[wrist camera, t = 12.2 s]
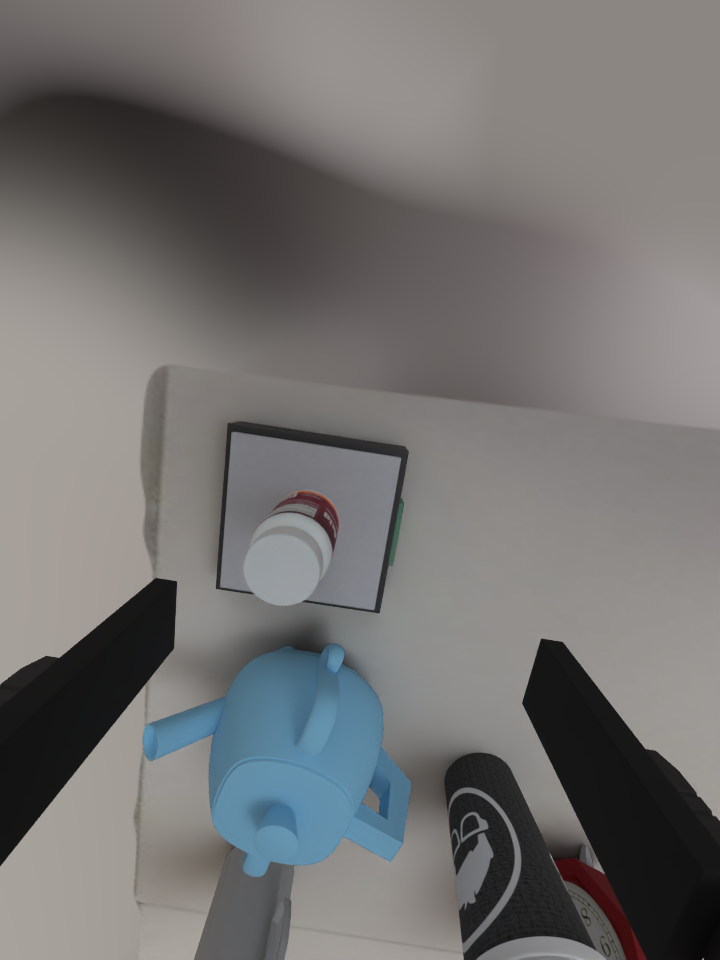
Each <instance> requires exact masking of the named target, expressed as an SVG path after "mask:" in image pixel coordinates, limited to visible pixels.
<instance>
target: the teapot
mask: <svg viewBox="0 0 720 960" xmlns="http://www.w3.org/2000/svg"><path fill="white" fill-rule="evenodd" d="M344 656H345V651H344V649H343V648H342V647H341V646H340V645H338V644H334V643H332V644H329V645H327V646H326V647H325V648H324V650H323V652H322V654H318V653H313V652H308V651H301V650H296V649H295V648H293V647H288V646H286V647H282V648H280V649H279V650H278V651H273V652H269V653H266V654H264V655H261V656H259V657H257V658H255V659H253V660H252V661H250V662H249V663H248V664H247V665H246V666H245V667H244V668H243V669H242V670H241V671H240V672H239V674H238V675H237V677H236V678H235V680H234V681H233V683H232V685H231V686H230V688H229V690H228V692H227V695H226V697H223V698H220V699H218V700H215V701H212V702H209V703H206V704H203V705H201V706H198V707H195V708H192V709H189V710H186V711H183V712H181V713H178V714H175V715H172V716H169V717H166V718H164V719H161V720H158V721H155V722H152V723H149V724H147V725H146V726H145V728H144V732H143V749H144V753H145V755H146V757H147V759H148V760H149V761H153V760H155V759H158V758H160V757H162V756H164V755H167V754H169V753H171V752H173V751H176V750H178V749H180V748H182V747H185V746H187V745H189V744H192V743H194V742H196V741H198V740H201V739H203V738H205V737H207V736H210V735H212V734H214V735H213V740H212V745H211V754H210V762H209V797H210V808H211V815H212V822H213V824H214V827H215V828H216V830H217V831H218V832H219V834H220V835H221V836H222V837H223V838H224V839H225V840H227V841H228V842H229V843H230V844H232V845H234V846H235V847H237V848H239V849H241V850H242V851H244V852H245V855H244V859H243V863H242V869H243V871H244V872H245V873H246V874H248V875H250V876H253V877H260V876H262V875H264V874H265V872H266V870H267V868H268V866H269V863H270V861H272V862H276V863H282V864H288V865H310V864H314V863H318V862H320V861H322V860H324V859H325V858H326V857H328V856H329V855H330V854H331V853H332V852H333V851H334V850H335V848H336V847H337V846H338V844H339V843H340V841H341V839H342V838H343V836H344V837H345V838H347V839H349V840H351V841H353V842H355V843H357V844H358V845H360V846H362V847H364V848H366V849H368V850H369V851H371V852H373V853H375V854H377V855H379V856H380V857H382V858H384V859H386V860H388V861H390V862H391V861H392V859H393V858H394V856H395V855H396V853H397V852H398V850H399V849H400V847H401V846H402V844H403V839H404V832H405V825H406V818H407V811H408V804H409V797H410V790H411V782H410V781H409V780H408V778H407V777H406V776H405V775H404V774H403V773H402V771H401V770H400V769H399V768H398V767H397V765H396V764H395V763H394V762H393V761H392V759H391V758H390V757H389V756H388V755H387V753H386V752H385V751H384V750H383V749H382V747H381V743H382V737H383V710H382V706H381V703H380V701H379V698H378V696H377V694H376V693H375V692H374V690H373V689H372V687H371V686H370V685H369V684H368V683H367V682H366V681H365V680H364V679H363V678H362V677H360V676H359V674H358V673H357V672H356V671H355V670H352V669H350V668H348V667H346V666H345V665H343V664H342V662H343V659H344ZM369 787H370V788H371V789H372V790H373V792H374V793H375V794H376V795H377V797H378V798H379V799H380V807H379V814H378V813H376V812H375V811H373V810H372V809H370V808H369V807H367V806H366V805H364V804H363V803H362V801H363V799H364V797H365V795H366V792H367V790H368V788H369Z"/></svg>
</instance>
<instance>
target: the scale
mask: <svg viewBox="0 0 720 960" xmlns="http://www.w3.org/2000/svg"><path fill="white" fill-rule="evenodd" d="M408 453H409V451H408V450H407V449H406V447H403V446H396V445H390V444H383V443H377V442H370V441H364V440H357V439H351V438H344V437H338V436H331V435H325V434H318V433H312V432H305V431H299V430H292V429H286V428H279V427H273V426H266V425H260V424H253V423H247V422H234V423H229V424H228V428H227V442H226V456H225V469H224V483H223V497H222V510H221V524H220V538H219V552H218V565H217V579H216V589H221V590H227V591H234V592H241V593H247V594H254V593H253V592H252V591H251V590H250V588H249V587H248V585H247V583H246V581H245V578H244V574H243V562H244V558H245V556H246V553H247V551H248V549H249V548H250V542H251V538H252V535H253V533H254V531H255V529H256V528H257V527H258V526H259V524H260V523H261V522H262V521H263V520H264V519H265V518H266V517H267V516H268V515H269V513H271V511H272V510H273V509H274V508H275V507H276V506H277V505H278V504H279V503H280V501H281V500H282V499H283V498H284V497H286V496H287V495H289V494H290V493H293V492H295V491H299V490H312V491H316V492H319V493H321V494H323V495H325V496H326V497H327V498H329V499H330V500H331V501H332V503H333V504H334V505H335V507H336V509H337V512H338V515H339V530H338V534H337V539H336V544H335V548H334V552H333V557H332V561H331V564H330V566H329V569H328V571H327V572H326V574H325V575H324V577H323V578H322V579H321V580H320V581H319V583H318V585H317V587H316V589H315V591H314V592H313V593H312V594H311V595H310V596H309V597H308V598H307V599H306V600H304V601H302V602H308V603H314V604H321V605H328V606H334V607H341V608H348V609H354V610H361V611H368V612H374V613H380V608H381V602H382V597H383V591H384V586H385V580H386V575H387V569H388V565H393V561H394V556H395V551H396V545H397V540H398V534H399V529H400V523H401V518H402V513H403V507H404V503H403V500H402V499H401V498H400V497H401V492H402V486H403V481H404V475H405V470H406V464H407V459H408ZM254 595H255V594H254Z"/></svg>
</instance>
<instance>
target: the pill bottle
mask: <svg viewBox="0 0 720 960" xmlns="http://www.w3.org/2000/svg"><path fill="white" fill-rule="evenodd" d="M338 530H339V515H338V512H337V509H336V507H335V505H334V504H333V503H332V501H331V500H330V499H329V498H327V497H326V496H325V495H323V494H321V493H319V492H316V491H312V490H299V491H295V492H293V493H290V494H289V495H287V496H286V497H284V498H283V499H282V500H281V501H280V503H279V504H278V505H277V506H276V507H275V508H274V509H273V510H272V511H271V513H269V515H268V516H267V517H266V518H265V519H264V520H263V521H262V522H261V523H260V524H259V526H258V527H257V528H256V529H255V531H254V533H253V535H252V538H251V542H250V548H249V549H248V551H247V553H246V556H245V558H244V562H243V574H244V578H245V581H246V583H247V585H248V587H249V588H250V590H251V591H252V592H253V593H254V594H255V595H256V596H257V597H258V598H259V599H261V600H263V601H265V602H267V603H269V604H272V605H277V606H290V605H295V604H298V603H300V602H302V601H304V600H306V599H307V598H308V597H309V596H310V595H311V594H312V593H313V592H314V591H315V589H316V587H317V585H318V583H319V581H320V580H321V579H322V578H323V577H324V575H325V574H326V572H327V571H328V569H329V566H330V564H331V561H332V557H333V552H334V548H335V544H336V539H337V534H338Z"/></svg>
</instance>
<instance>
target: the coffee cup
mask: <svg viewBox="0 0 720 960" xmlns="http://www.w3.org/2000/svg"><path fill="white" fill-rule="evenodd" d="M445 791H446V800H447V809H448V818H449V827H450V836H451V845H452V854H453V863H454V872H455V881H456V890H457V899H458V908H459V917H460V926H461V936H462V945H463V955H464V960H606V958H604V957H603V956H602V955H601V954H600V953H598V952H597V950H596V948H595V946H594V944H593V942H592V940H591V938H590V936H589V934H588V932H587V929H586V927H585V925H584V923H583V921H582V919H581V917H580V915H579V913H578V911H577V909H576V906H575V904H574V902H573V900H572V898H571V896H570V894H569V892H568V890H567V888H566V886H565V883H564V881H563V879H562V877H561V875H560V873H559V871H558V869H557V867H556V864H555V862H554V860H553V858H552V856H551V854H550V852H549V850H548V848H547V845H546V843H545V841H544V839H543V837H542V835H541V833H540V831H539V829H538V826H537V824H536V822H535V820H534V818H533V816H532V814H531V812H530V810H529V807H528V805H527V803H526V801H525V799H524V797H523V795H522V793H521V790H520V788H519V786H518V784H517V782H516V780H515V778H514V776H513V774H512V771H511V769H510V768H509V766H508V765H507V764H506V763H505V762H504V761H503V760H501V759H500V758H498V757H496V756H493V755H490V754H483V753H477V754H470V755H467V756H464V757H462V758H460V759H458V760H457V761H455V762H454V763H453V764H452V765H451V766H450V767H449V769H448V771H447V773H446V775H445Z"/></svg>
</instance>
